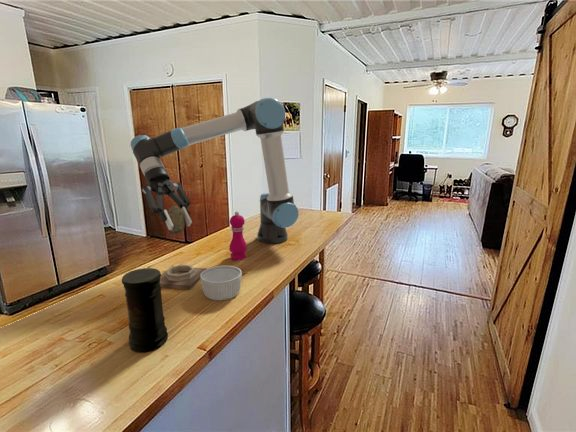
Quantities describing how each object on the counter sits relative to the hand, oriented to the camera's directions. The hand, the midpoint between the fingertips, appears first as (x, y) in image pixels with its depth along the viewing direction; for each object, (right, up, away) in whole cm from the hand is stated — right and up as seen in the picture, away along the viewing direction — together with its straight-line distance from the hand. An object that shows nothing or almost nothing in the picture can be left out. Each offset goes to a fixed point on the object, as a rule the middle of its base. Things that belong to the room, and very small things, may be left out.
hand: (180, 226), depth 105 cm
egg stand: (-2, -19, +7) cm, 21 cm away
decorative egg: (-3, -3, +3) cm, 5 cm away
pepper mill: (+15, -14, +27) cm, 34 cm away
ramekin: (+14, -22, -2) cm, 26 cm away
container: (+1, -28, -27) cm, 39 cm away
